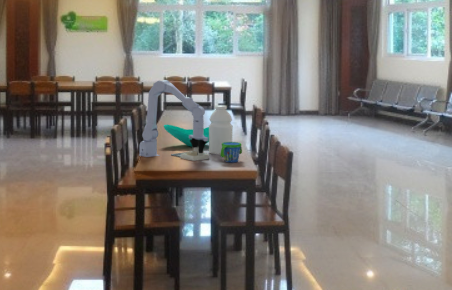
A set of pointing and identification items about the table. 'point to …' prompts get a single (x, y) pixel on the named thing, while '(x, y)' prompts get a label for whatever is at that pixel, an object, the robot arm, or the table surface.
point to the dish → (194, 157)
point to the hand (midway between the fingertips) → (198, 152)
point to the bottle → (219, 129)
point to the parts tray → (179, 154)
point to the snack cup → (231, 151)
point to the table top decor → (184, 133)
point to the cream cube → (192, 153)
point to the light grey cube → (198, 151)
